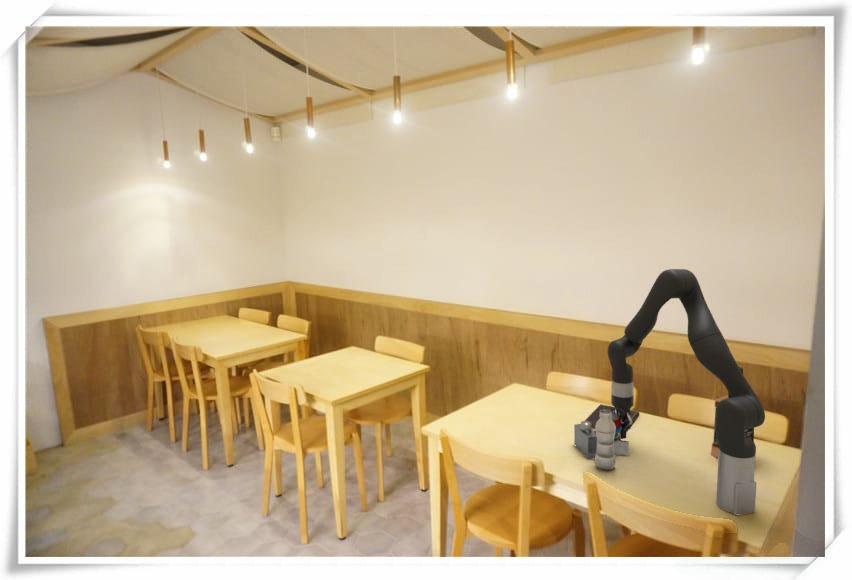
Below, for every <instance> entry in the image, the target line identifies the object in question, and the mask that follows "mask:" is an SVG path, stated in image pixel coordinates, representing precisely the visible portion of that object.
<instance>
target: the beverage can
mask: <svg viewBox="0 0 852 580" xmlns="http://www.w3.org/2000/svg"><path fill="white" fill-rule="evenodd" d="M611 416H612V418H611V420H612V421H613V422H614V424H615V426H616V432H615V437H614V441H616V440H622V439H621V421H620V419H619V416H618V415H616V414H613V413H611Z"/></svg>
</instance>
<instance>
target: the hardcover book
mask: <svg viewBox="0 0 852 580" xmlns="http://www.w3.org/2000/svg"><path fill="white" fill-rule="evenodd" d="M611 408H614V406H613V405H607V404H600V405H598V406H597V408H595V409H594V410H593V412H592V413H590V414H589V416H588V417H587V418H585V420H584V421H590V422H591V423H592V430H596V428H595V425H596V423H597V421H598V420H599V419H600V417H599V415H600V410H609V411H611ZM630 412H631V415H630V417H631V419H634V421H635V422H636V421H637V419H638V418H639V417H640V411H638V410H633V409H630ZM611 413H612V411H611ZM628 431H629V429H627V430H626V433H627V432H628Z"/></svg>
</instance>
